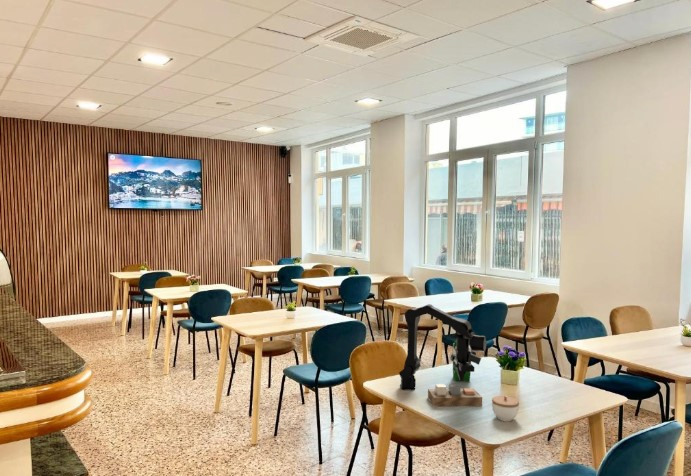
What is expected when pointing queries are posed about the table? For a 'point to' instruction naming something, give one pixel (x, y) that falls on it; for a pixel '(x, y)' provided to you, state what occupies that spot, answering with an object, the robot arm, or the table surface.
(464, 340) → the robot arm
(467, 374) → the milk carton
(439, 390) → the ivory key
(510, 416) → the lidded jar
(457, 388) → the grey cube
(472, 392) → the orange cube
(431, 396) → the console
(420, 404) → the table surface
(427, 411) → the table surface
